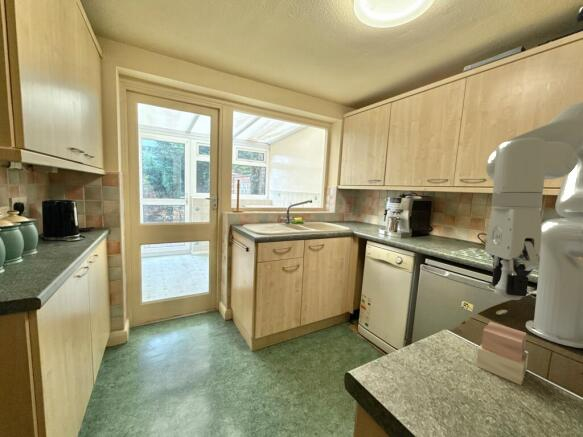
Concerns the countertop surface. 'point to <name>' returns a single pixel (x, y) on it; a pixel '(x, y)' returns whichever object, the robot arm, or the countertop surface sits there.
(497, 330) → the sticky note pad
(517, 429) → the countertop surface
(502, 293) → the rook chess piece
